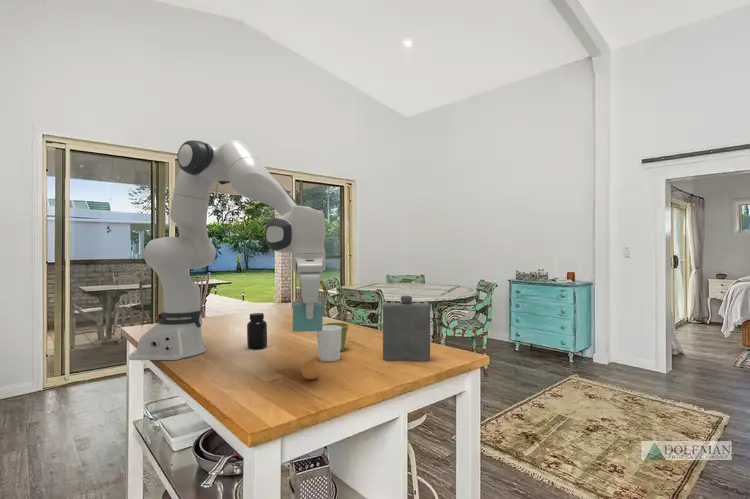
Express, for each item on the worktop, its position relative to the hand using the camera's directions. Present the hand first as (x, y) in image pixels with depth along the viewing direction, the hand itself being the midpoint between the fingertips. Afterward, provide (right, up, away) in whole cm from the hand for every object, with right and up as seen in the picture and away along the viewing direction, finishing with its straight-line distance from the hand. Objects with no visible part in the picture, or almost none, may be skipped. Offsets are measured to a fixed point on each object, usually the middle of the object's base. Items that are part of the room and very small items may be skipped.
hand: (308, 315), depth 108 cm
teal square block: (-1, -3, 0) cm, 3 cm away
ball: (0, -15, 0) cm, 15 cm away
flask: (+28, -17, +20) cm, 38 cm away
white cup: (+3, -17, +20) cm, 27 cm away
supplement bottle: (-24, -17, +35) cm, 46 cm away
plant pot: (+4, -17, +31) cm, 36 cm away
